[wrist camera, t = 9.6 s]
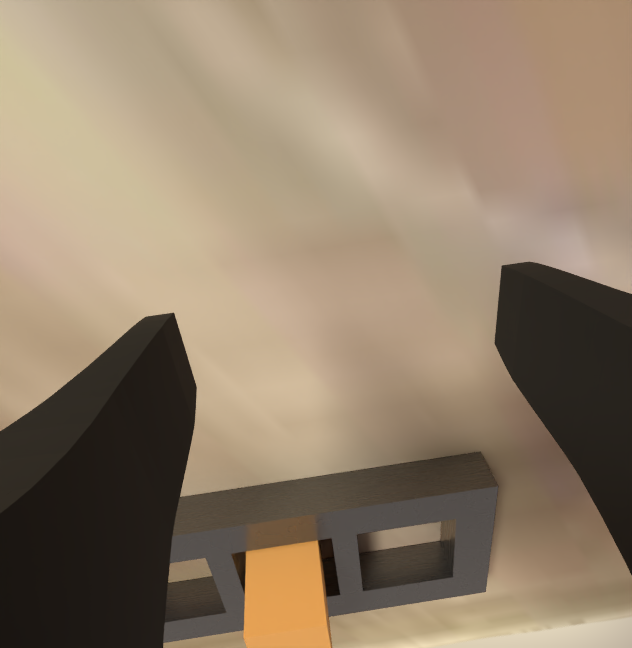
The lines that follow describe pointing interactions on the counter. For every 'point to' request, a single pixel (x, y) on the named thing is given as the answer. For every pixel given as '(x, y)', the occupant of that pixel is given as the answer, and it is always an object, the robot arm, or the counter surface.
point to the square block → (286, 598)
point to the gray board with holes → (337, 539)
